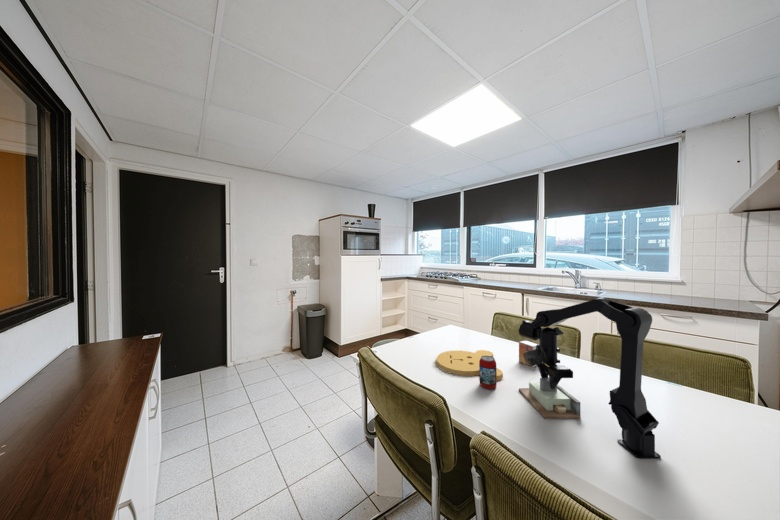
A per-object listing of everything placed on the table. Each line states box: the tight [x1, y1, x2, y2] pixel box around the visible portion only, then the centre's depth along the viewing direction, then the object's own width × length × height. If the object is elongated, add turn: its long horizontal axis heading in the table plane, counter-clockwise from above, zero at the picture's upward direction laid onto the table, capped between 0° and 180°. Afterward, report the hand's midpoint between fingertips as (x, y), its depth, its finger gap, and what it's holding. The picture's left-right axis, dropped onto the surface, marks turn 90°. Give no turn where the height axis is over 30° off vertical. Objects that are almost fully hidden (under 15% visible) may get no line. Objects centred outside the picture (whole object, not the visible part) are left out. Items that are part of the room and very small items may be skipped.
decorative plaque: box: [436, 349, 504, 381], centre depth 131 cm, size 31×3×30 cm
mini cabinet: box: [528, 377, 570, 410], centre depth 95 cm, size 12×8×8 cm, turn 179°
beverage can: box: [479, 356, 497, 390], centre depth 109 cm, size 7×7×12 cm
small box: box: [518, 339, 539, 368], centre depth 130 cm, size 8×6×10 cm
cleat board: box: [518, 376, 581, 420], centre depth 95 cm, size 18×12×6 cm, turn 179°
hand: (548, 385), depth 95 cm, fingers open, 5 cm apart
